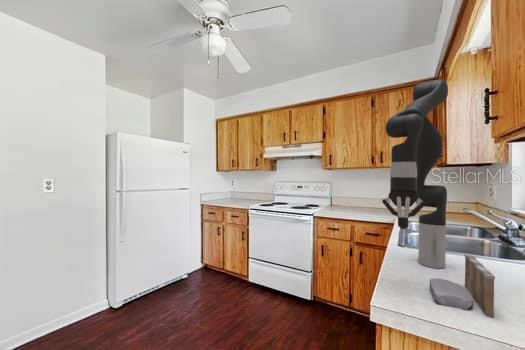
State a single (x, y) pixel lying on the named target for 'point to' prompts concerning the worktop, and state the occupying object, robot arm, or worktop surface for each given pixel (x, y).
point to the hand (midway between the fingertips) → (402, 228)
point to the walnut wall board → (480, 284)
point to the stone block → (450, 294)
